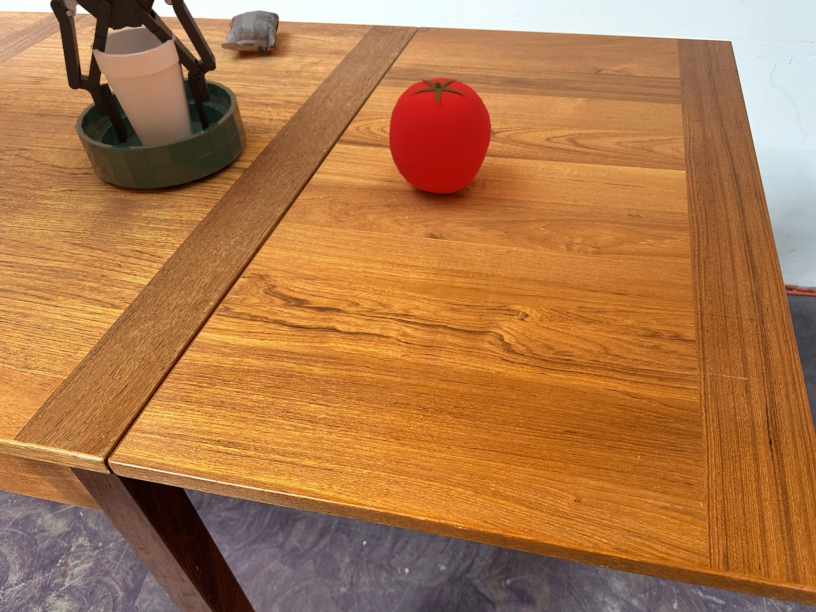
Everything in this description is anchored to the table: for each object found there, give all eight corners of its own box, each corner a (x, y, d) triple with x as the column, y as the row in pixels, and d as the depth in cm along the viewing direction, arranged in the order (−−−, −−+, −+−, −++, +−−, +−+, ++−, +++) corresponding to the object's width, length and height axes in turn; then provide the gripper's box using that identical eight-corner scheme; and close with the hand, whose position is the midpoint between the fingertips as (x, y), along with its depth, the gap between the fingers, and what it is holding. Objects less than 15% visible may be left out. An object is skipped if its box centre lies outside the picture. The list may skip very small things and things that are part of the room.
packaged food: (225, 61, 109) (217, 30, 105) (233, 34, 117) (226, 5, 114) (278, 58, 110) (273, 27, 106) (282, 32, 118) (277, 2, 114)
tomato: (425, 221, 75) (418, 115, 66) (375, 176, 82) (363, 76, 73) (512, 186, 80) (517, 83, 71) (458, 147, 87) (456, 49, 78)
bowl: (88, 205, 79) (66, 160, 75) (101, 131, 92) (83, 89, 88) (252, 178, 83) (241, 133, 78) (243, 110, 96) (232, 69, 92)
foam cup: (214, 148, 85) (183, 45, 76) (140, 168, 82) (98, 63, 73) (195, 119, 91) (164, 20, 82) (125, 137, 88) (85, 36, 79)
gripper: (-28, -46, 65) (70, 160, 81) (204, -69, 69) (254, 131, 85) (-12, -65, 70) (77, 132, 86) (203, -86, 74) (250, 106, 90)
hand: (165, 131), depth 85 cm, fingers closed on foam cup, 9 cm apart
